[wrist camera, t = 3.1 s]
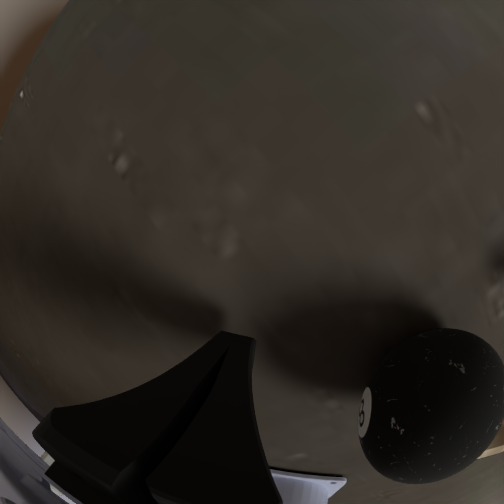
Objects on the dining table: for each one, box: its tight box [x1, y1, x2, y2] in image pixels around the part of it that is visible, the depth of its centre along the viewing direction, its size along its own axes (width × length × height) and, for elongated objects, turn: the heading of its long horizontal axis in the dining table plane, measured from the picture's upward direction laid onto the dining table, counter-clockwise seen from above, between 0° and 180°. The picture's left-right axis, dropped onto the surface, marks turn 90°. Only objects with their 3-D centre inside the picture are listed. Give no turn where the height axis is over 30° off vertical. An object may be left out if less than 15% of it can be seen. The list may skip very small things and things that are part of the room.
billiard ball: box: [358, 328, 504, 484], centre depth 7 cm, size 6×6×6 cm
